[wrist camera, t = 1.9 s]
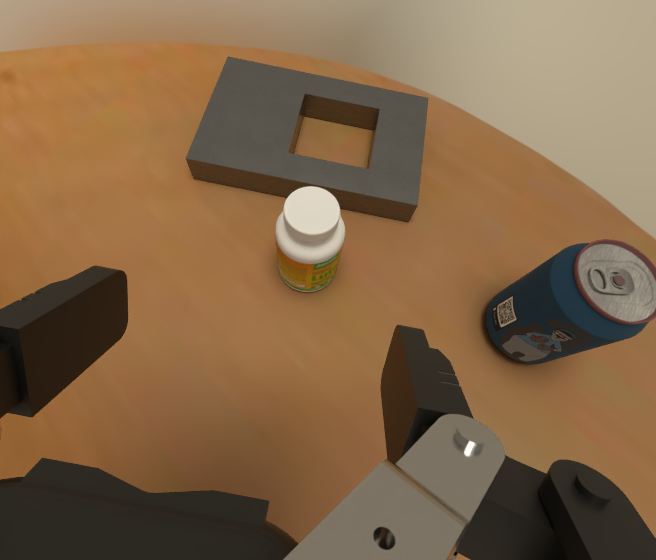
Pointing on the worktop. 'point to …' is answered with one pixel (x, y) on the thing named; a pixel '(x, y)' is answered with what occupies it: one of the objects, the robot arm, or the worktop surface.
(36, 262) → the worktop surface
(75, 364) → the robot arm
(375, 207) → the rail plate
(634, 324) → the soda can
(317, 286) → the supplement bottle
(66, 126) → the worktop surface
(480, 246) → the worktop surface
